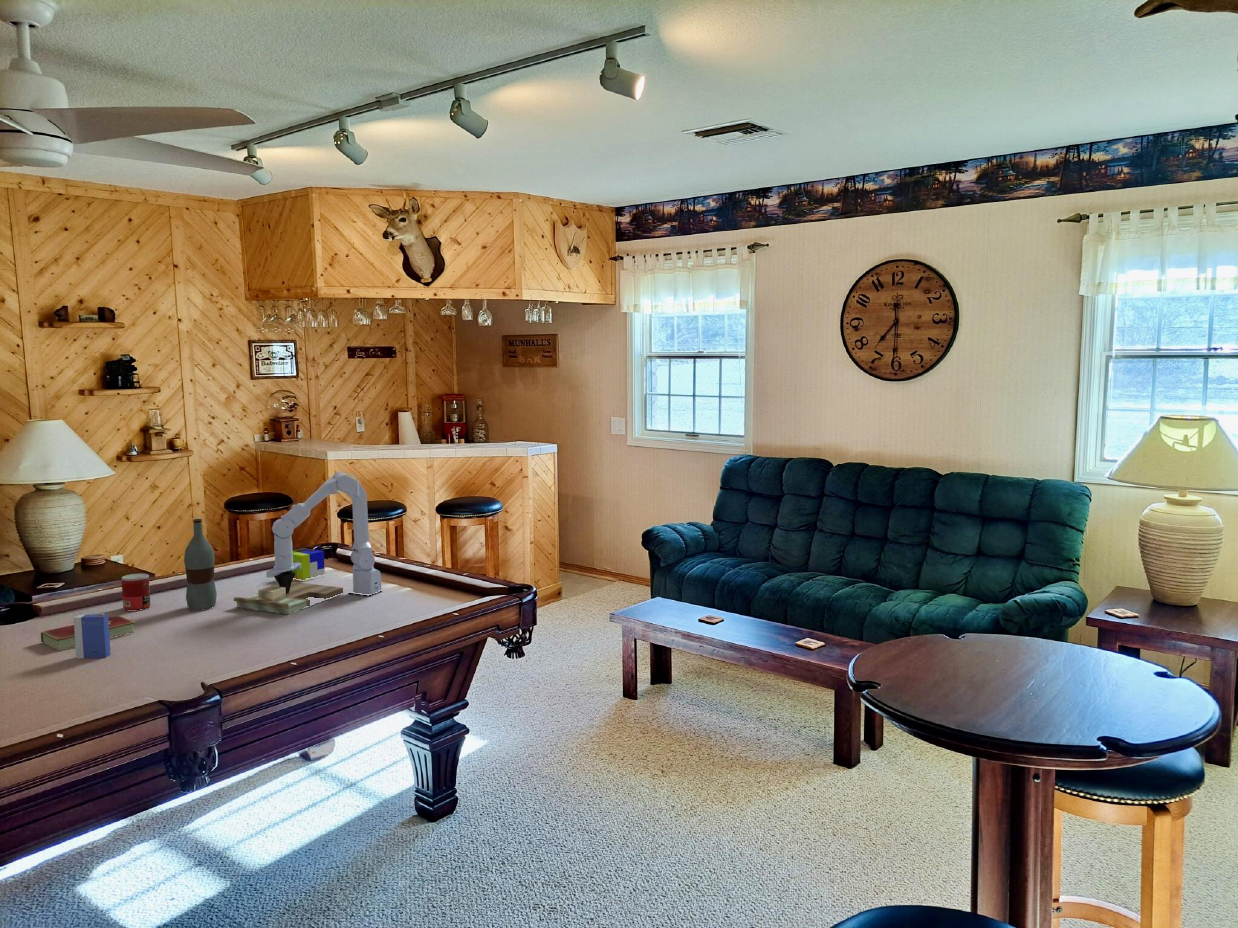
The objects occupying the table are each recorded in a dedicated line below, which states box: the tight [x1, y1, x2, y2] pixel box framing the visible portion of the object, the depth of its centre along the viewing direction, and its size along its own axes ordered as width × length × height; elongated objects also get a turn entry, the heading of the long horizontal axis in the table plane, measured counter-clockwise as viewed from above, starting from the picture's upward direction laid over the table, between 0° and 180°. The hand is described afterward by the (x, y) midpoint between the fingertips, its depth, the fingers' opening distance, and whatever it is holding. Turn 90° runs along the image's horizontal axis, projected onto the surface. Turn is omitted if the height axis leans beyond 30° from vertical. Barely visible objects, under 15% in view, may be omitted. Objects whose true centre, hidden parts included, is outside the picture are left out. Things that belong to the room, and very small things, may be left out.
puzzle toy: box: [292, 547, 326, 580], centre depth 326 cm, size 10×10×10 cm
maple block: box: [257, 585, 286, 602], centre depth 284 cm, size 6×6×4 cm
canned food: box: [121, 573, 151, 611], centre depth 283 cm, size 8×8×11 cm
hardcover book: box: [40, 614, 136, 651], centre depth 252 cm, size 12×21×4 cm, turn 143°
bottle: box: [183, 518, 218, 611], centre depth 283 cm, size 9×9×30 cm
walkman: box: [73, 612, 112, 659], centre depth 236 cm, size 8×3×12 cm, turn 96°
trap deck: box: [233, 581, 344, 615], centre depth 293 cm, size 22×28×4 cm
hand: (285, 593), depth 290 cm, fingers closed
